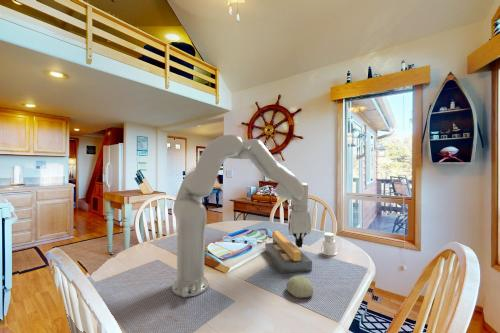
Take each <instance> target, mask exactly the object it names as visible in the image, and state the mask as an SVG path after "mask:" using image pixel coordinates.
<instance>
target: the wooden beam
mask: <svg viewBox="0 0 500 333" xmlns="http://www.w3.org/2000/svg"><path fill="white" fill-rule="evenodd" d="M271 238H272V240H273V239H274V240H275V241H276V242H277V243H278V244H279V245H280V246H281V247H282V249H283V250H284V251H285V252H286V253H287V254H288V255H289V256H290V257H291V258H292V259H293V260H294V261H299V260H301V252H302V251H301V250H300V249H299V248H298V247H297V246H296V245H295V244H294V243H292V242H291V241H289V240H288V239H287V238H286V237H285V236H284V235H283V234H282V233H280V231H279V230H272V236H271ZM290 242H291V243H292V244H291V243H290ZM294 245H295V246H296V247H297V248H298V249H299V250H300V251H301V252H300V251H299V250H298V249H297V248H296V247H295V246H294Z"/></svg>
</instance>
